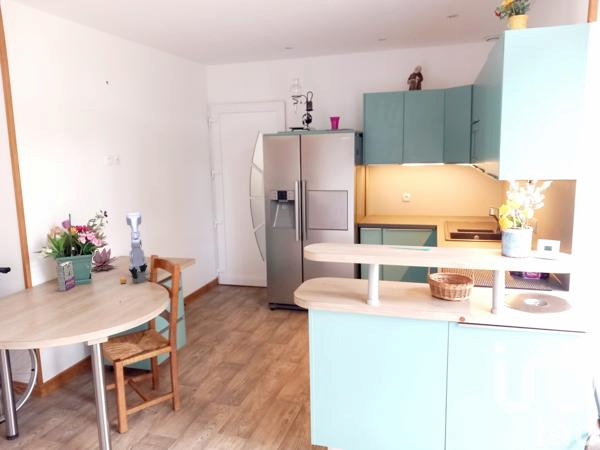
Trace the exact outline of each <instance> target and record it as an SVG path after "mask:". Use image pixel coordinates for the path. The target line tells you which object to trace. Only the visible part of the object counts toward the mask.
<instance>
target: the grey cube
mask: <svg viewBox="0 0 600 450" xmlns="http://www.w3.org/2000/svg"><path fill="white" fill-rule="evenodd" d="M131 278H132V281H131V282H132V283H136V284H141V283H143V282H146V281H147V274H145V272H141V271H137V279H133V276H131Z"/></svg>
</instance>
